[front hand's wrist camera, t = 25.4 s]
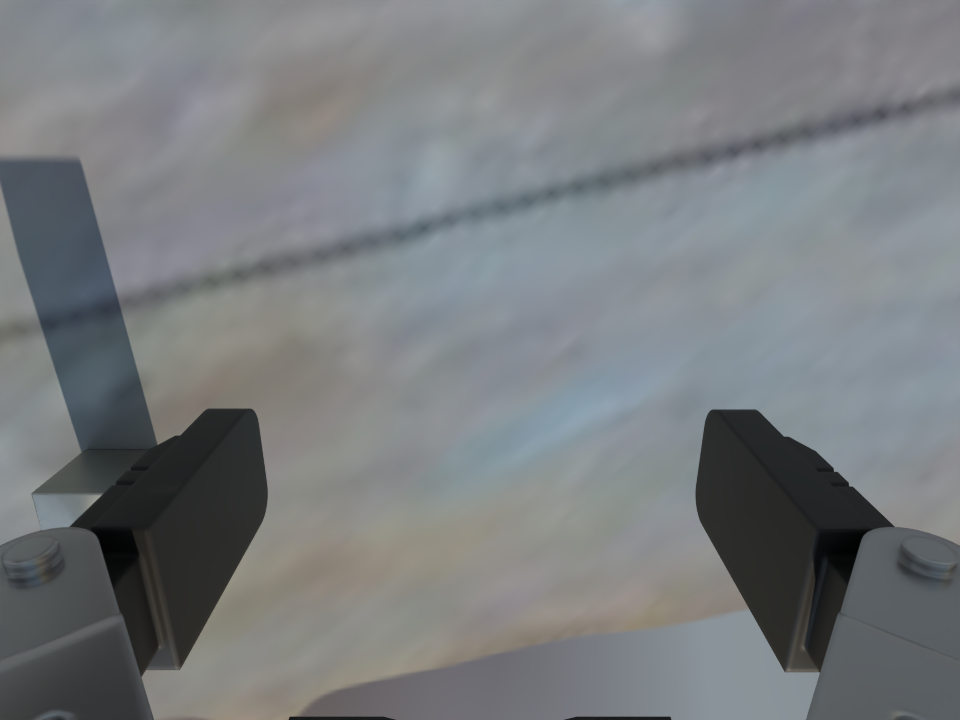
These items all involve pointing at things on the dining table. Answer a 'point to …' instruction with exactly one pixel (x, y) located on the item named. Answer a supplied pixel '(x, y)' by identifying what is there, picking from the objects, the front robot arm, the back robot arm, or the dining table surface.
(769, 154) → the dining table surface
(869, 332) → the dining table surface
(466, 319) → the dining table surface
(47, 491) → the block
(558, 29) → the dining table surface
